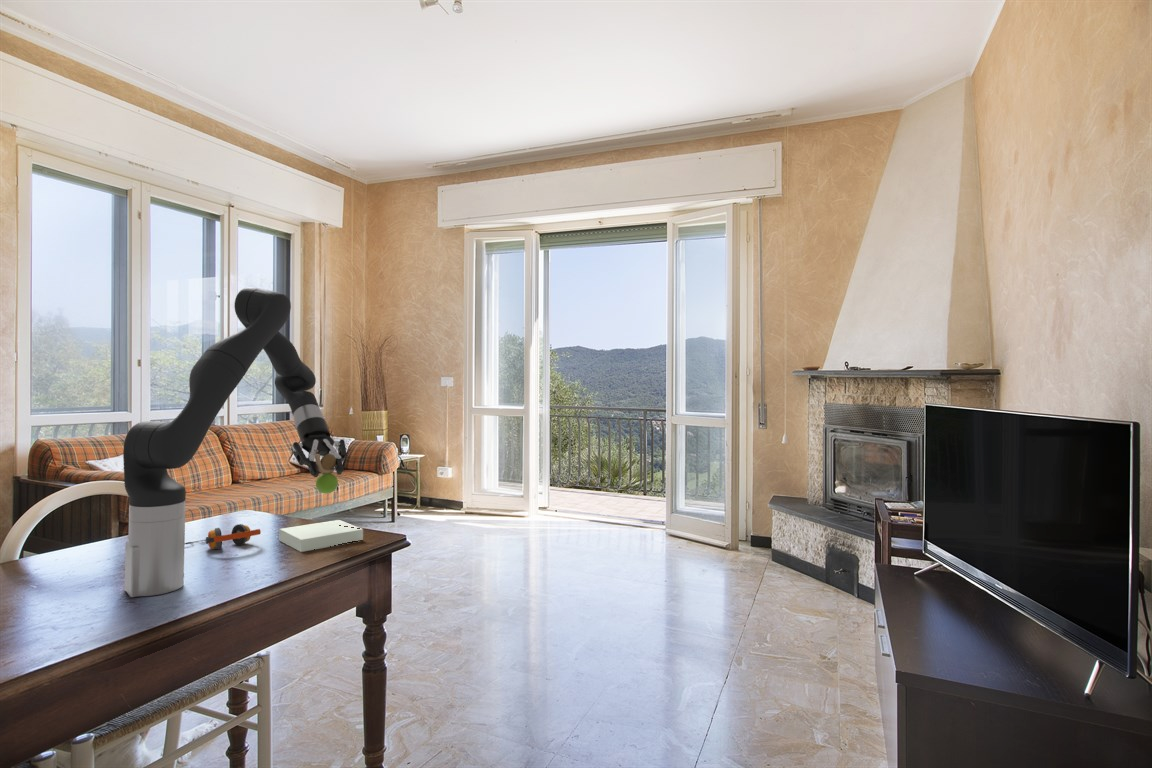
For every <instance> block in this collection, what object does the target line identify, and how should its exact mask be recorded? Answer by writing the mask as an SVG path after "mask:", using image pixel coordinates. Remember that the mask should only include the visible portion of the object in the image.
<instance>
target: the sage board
mask: <svg viewBox="0 0 1152 768" xmlns="http://www.w3.org/2000/svg"><path fill="white" fill-rule="evenodd" d="M339 525H341V526H339ZM344 526H348V527H344ZM351 527H354V528H351ZM357 528H360V529H357ZM278 530H279V531H278V533H279V535H278V540H279V541H280V542H281V543H283V544H284V545H287V546H288V547H291V548H292V549H295V550H296V551H298V552H300V553H303V552H308V551H315V550H319V549H320V550H321V549H324V548H330V546H331V547H335V546H334V545H336V546H339V545H338V544H342V543H347V542H352V541H358V540H363V541H364V528H361V527H358V526H356V525H354V524H350V523H348V522H346V521H344V520H340V519H335V520H329V521H323V522H316V523H309V524H308V523H307V524H303V525H296V526H289V527H282V528H279V529H278ZM358 542H359V541H358ZM347 544H348V543H347ZM342 545H343V544H342ZM314 549H315V550H314Z"/></svg>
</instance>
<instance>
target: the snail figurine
mask: <svg viewBox="0 0 1152 768" xmlns="http://www.w3.org/2000/svg"><path fill="white" fill-rule="evenodd" d="M314 451H315V452H318V450H314ZM314 460H315V461H316V464H317V467H318V470H319V473H321V474H320V475H318V477H316V481H315V487H316V489H317V490H318V492H320V493H322V494H326V495H327V494H330V493H333V492H334V491H336V489H337V488H338V485H339V481H338V478H337V476H336V475H335V474H333V472H334V471H336V469H335V467H334V466H335V464H336V459H335V457H334V456H333V455H331V454H327V455H325V456H320V454H315V458H314Z"/></svg>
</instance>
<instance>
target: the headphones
mask: <svg viewBox="0 0 1152 768" xmlns="http://www.w3.org/2000/svg"><path fill="white" fill-rule="evenodd" d="M261 532H262V531H261V529H260V528H257V529H253V530H252V529H251V528H250V527H249V526H248V525H246V524H243V523H239V524H235V525H234V526H233V527H232V530H231V533H229V534H224V535H223V534H222V530H221V528H220V527H215V528H214V529H211V530H210V531H208V533H207V536H206V537H205V539H200V540H196V541H188V542H187V541H186V542H185V545H189V544H194V543H198V542H204V541H205V542H206V544H207V545H208V547H209V548H210V549H216V550H221V549H222V548H223V542H225V541H231V540H232V542H233V544H235V545H236V546H241V545H243V546H244V545H245V544H246V543H247V542H249V541H250V540H251V537H253V536H258V535H261Z"/></svg>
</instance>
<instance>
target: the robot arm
mask: <svg viewBox="0 0 1152 768" xmlns="http://www.w3.org/2000/svg"><path fill="white" fill-rule="evenodd" d="M291 305H292V303H291V300H290V298H289V297H288V296H287V295H286V294H285V293H282V292H279V291H276V290H269V289H264V288H258V287H251V286H249V287H244V288H241V290H239V292H238V293H237V294H236V297H235V299H234V312H235V315H236V317H237V319H238V320H239V321H240V323H241V324H242V325H243V326H244V329H242V330H240V331H238V332H236V333H233V334H232V335H230V336H227V337H225V338H222V339H220V340H218V341H217V342H215V343H213V344H212V345H210V346H209V347H208V348H207V349H206V350H205V351H204V352H203V353H202V355H201V356H200V357H199V359H198V360H197V361H196V363H195V364H194V365H193V367H192V369H191V370H190V374H189V382H188V383H189V398H188V401H187V403H186V404H185V406H184V407H183V409H182V410H181V411H180V413H179V414H178V415H177V416H176V417H175V418H174V419H173V420H172V421H154V420H153V421H140V422H137V423H136V424H135V425H133V426H132V427H131V428H130V429H129V430H128V431H127V434H126V435H125V438H124V443H123V448H122V449H123V450H122V451H123V453H122V454H123V456H122V457H123V459H122V460H123V476H124V477H123V479H124V480H123V483H124V484H123V485H124V489H125V491H126V493H127V495H128V503H129V504H128V505H129V506H128V538H127V540H128V541H126V542H125V553H124V554H125V557H124V560H125V561H124V591H125V592H126V593H127V595H128V596H129V598H136V597H152V596H158V595H163V594H167V593H170V592H174V591H177V590H179V589H181V588H182V587H183V586H184V581H185V580H184V579H185V545H186V544H185V543H186V542H185V539H186V538H185V537H186V535H185V534H186V496H187V495H186V494H187V493H186V492H187V491H186V488H185V485H182V484H181V483H179V482H177V481H176V480H174V479H173V478H172V477H171V476H170V474H169V473H168V470H175V469H179V468H182V467H183V466H185V465H187V464H188V463H189V462H191V461H192V459H193V458H194V457H195V455H196V453H197V451H198V450H199V448H200V446H201V444H202V442H203V440H204V439H205V437H206V435H207V433H208V431H209V430H210V427H211V426H212V424H213V422H214V420H215V418H216V417H217V416H218V414H219V412H220V411H221V409H222V407H223V406H224V405H225V403H226V402H227V400H228V399H229V397H230V395H231V394H232V393H233V392H234V390H235V389H236V388H237V387H238V386H239V384H240V383H241V381H242V380H243V378H244V377H245V375H246V374H247V372H248V371H249V369H250V367H251V366H252V365H253V363H254V361H255V360H256V359H257V358H258V356H259V355H260V354H261V352H262V351H263V350H264V352H265V354H266V355H267V357H268V359H269V362H270V363H271V366H272V367H273V369H274V371H275V372H276V374H277V375H276V377H275V378H274V386H275V388H276V390H277V391H278V392H279V393H278V394H280V395H281V396H282V397H283V398H284V400H285V401H286V402H287V403H288V405H289V407H290V410H291V413H292V416H293V422H294V427H295V429H296V431H297V434H298V437H299V440H300V443H299V442H297V441H294V442H293V444H292V446H291V448H290V450H291V452H292V454H293V455H294V458H295V459H296V461H297V463H298V464H299V466H304V465H305V466H306V467H308V470H309V473H310V475H311V476H313V478H318V477H319V476H320V475H319V474H320V472H319V470H318V467H317V464H316V460H315V454H320V457H323V456H325V455H327V454H331V455H333V456H334V457H335V459H336V464H335V466H334V468H335V471H336V474H337V476H340V475H342V473H343V472H344V469H345V466H344V465H343V464H344V463H343V462H345V459H346V457H348V454H347V449H346V447H347V446H346V442H345V439H340V440H334V439H333V438H332V437H331V431H330V429H329V427H328V425H327V421H326V419H325V416H324V413H323V412H322V410H321V409H320V406H319V403H318V400H317V398H316V396H315V394H314V393H313V392H311V391H309V390H311V389H313V388H314V387H315V385H316V382H317V381H316V376H315V374H314V372H313V370H312V369H311V368H310V367H309V366H308V365H306V363H304V362H303V361H302V360H301V358H300V356H299V354H298V351H297V350H296V347H295V346H294V344H293V342H291V341H290V339H288V337H286V336H285V335H283V333H281V332H280V330H281V329H282V328H283V327H284V325H285V324H286V322H287V320H288V318H289V316H290V314H291V309H292V308H291V307H292V306H291ZM314 450H318V452H315V451H314ZM304 451H306V452H307V453H308V454H307V456H306V454H305V452H304ZM337 451H338V452H337Z"/></svg>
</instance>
